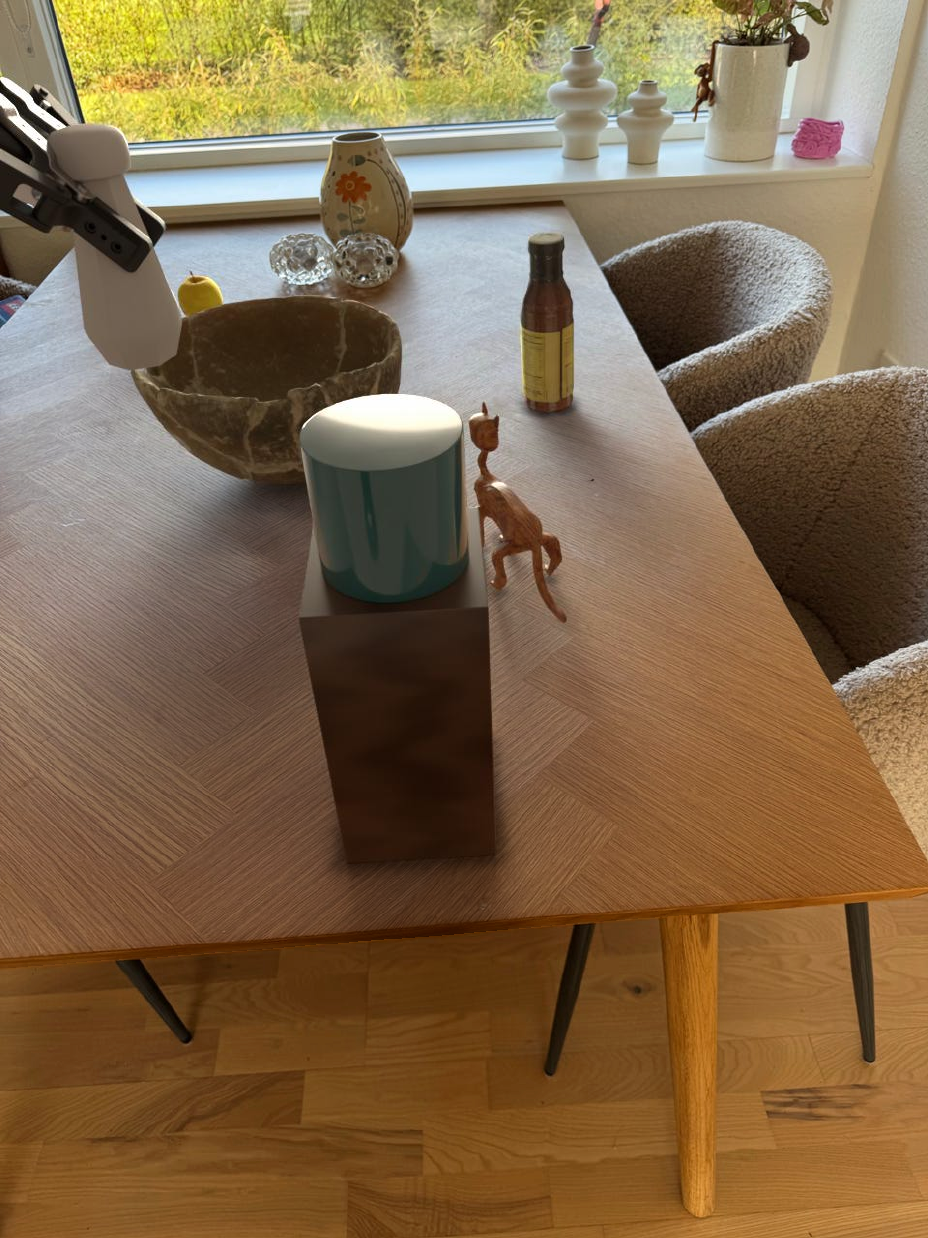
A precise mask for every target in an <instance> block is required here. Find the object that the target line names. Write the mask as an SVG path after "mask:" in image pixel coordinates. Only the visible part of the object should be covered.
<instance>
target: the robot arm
mask: <svg viewBox="0 0 928 1238" xmlns="http://www.w3.org/2000/svg"><path fill="white" fill-rule="evenodd" d="M78 124H79V122H78V121H77V120H76V119H75V118H74V117H73V116H72V115H71V114H70V113H69V112H68V111H67V109H66V108H65V107H63V105H62V104H61V103H60V102H59V101H58V100H57V99H56V98H55V97H54V96H53V95H52V94H51V93H50V91H49V90H48V89H47V88H46V87H44V86H41V85H40V84H37V83H34V84H33V85H32V87H31V89H30V90H29V92H27V91H26V90H24V89H22V87H20V86H19V85H17V84H16V83H15V82H13V81H12V80H10V79H8V78H6V77H1V76H0V211H1V212H3V213H5V214H7V215H9V216H10V217H12V218H14V219H16V220H18V221H20V222H22V223H23V224H26V225H27V226H29V227H31V228H33V229H34V230H36V231H39V232H41V233H44V234H50V232H51V231H52V230H53V228H54V227H56V228H58V229H59V230H61V231H62V232H65V233H71V231H73V230H74V232H75V233H77V234H78V235H79V236H81V237H82V238H83V239H84V240H86V241H87V242H88V243H90V244H91V245H92V246H94V247H95V248H96V249H98V250H99V251H100V252H102V253H103V254H104V255H105V256H107V257H108V258H109V259H111V260H112V261H113V262H115V263H116V264H117V265H119V266H120V267H121V268H123V269H124V270H125V271H127V272H130V273H133V272H136V271H137V270H138V268H139V267H140V265H141V264H142V263H143V261H144V260H145V258H146V257H147V255H148V254H149V253H150V251H151V250H152V246H153V248H154V249H155V246H156V245H157V244H158V242H159V241H160V239H161V238H162V237H163V235H164V234H165V232H166V231H167V225H166V222H165V221H164V220H163V219H162V218H161V217H160V216H159V215H158V214H156V213H155V212H154V211H152V210H151V209H150V208H148V207H147V206H146V205H145V204H143V202H141V201H140V200H139V199H138V198H137V197H135V196H134V195H132V197H133V200H134V202H135V204H136V207H137V209H138V212H139V214H140V216H141V219H142V221H143V224H144V226H145V228H146V231H147V233H148V236H149V237H147V236H146V235H145V234H144V233H142V232H141V231H140V230H139V229H137V228H136V227H135V226H133V225H132V224H131V223H130V222H128V221H127V220H126V219H125V218H123V217H122V216H121V215H120V214H118V213H117V212H116V211H114V210H113V209H112V208H111V207H109V206H108V205H107V204H106V203H104V202H103V201H102V200H101V199H99V198H98V197H96V198H95V199H94V200H93V201H92V203H91V202H90V200H91V198H92V197H93V196H92V193H91V192H90V191H89V190H88V189H87V188H86V187H85V186H84V185H83V184H82V183H81V182H79V181H76V180H73V179H72V178H71V177H70V176H68V175H67V174H66V173H65V172H64V171H63V170H62V169H61V168H60V167H59V166H58V163H57V156H56V154H55V152H54V150H53V148H52V147H51V145H50V143H49V142H47V140H48V138H49V136H50V134H51V133H52V132H54V131H56V130H58V129H61V128H63V127H67V126H71V125H78Z"/></svg>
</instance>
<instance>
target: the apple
mask: <svg viewBox="0 0 928 1238" xmlns="http://www.w3.org/2000/svg"><path fill="white" fill-rule="evenodd" d="M189 275H190V276H188V277H186V279H185V280H183V282H182V283H181V284H180V285H179V287H178V288H177V302H178V306H179V308H180V310H181V312H182V313H183V315H184V317H188V316H190V315H191V314H194V313H199V312H202V311H204V310H207V309H209V308H213V307H216V306H220V305H223V304H224V299H223V298H224V297H223V294H222V291H221V289H220V287H219V285H218V284H217V283H216V282H215V281H214V280H213V279H211V278H209V277H207V276H202V275H194V273H193V271H191V270H189Z"/></svg>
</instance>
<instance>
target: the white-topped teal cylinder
mask: <svg viewBox="0 0 928 1238" xmlns="http://www.w3.org/2000/svg"><path fill="white" fill-rule="evenodd" d="M463 423H464V421H463V420H462V418H461V416H460V414H458V412H457V411H456V410H454V409H453V408H452V407H450V406H449V405H447V404H445V403H443V402H441V401H439V400H435V399H432V398H429V397H425V396H419V395H413V394H402V393H401V394H400V393H398V394H382V395H372V396H365V397H359V398H354V399H351V400H347V401H343V402H340V403H338V404H335V405H332V406H330V407H328V408H326V409H324V410H322V411H320V412H319V413H317V414H316V415H314V416H313V417H312V418H310V419H309V420H308V421H307V422H306V424H305V425H304V426H303V428H302V430H301V432H300V435H299V443H300V449H301V455H302V460H303V466H304V472H305V478H306V482H305V483H306V489H307V494H308V501H309V508H310V512H311V513H310V514H311V518H312V519H311V520H312V526H313V525H314V531H315V537H316V543H317V549H318V555H319V560H320V566H321V571H322V574H323V576H324V578H325V579H326V581H327V582H328V583H329V584H330V585H331V586H332V587H333V588H334V589H336V590H337V591H339V592H340V593H342V594H344V595H346V596H349V597H352V598H354V599H358V600H362V601H368V602H375V603H397V602H406V601H411V600H416V599H420V598H424V597H426V596H429V595H432V594H434V593H437V592H439V591H441V590H443V589H444V588H446V587H448V586H449V585H450V584H452V583H453V582H454V581H456V580H457V579H458V578H459V577H460V576H461V574H462V573H463V571H464V570H465V568H466V566H467V564H468V560H469V537H468V515H467V507H468V497H467V496H468V494H467V493H468V492H467V474H466V473H467V472H466V453H465V452H466V450H465V432H464V431H465V429H464V424H463Z"/></svg>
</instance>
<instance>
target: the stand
mask: <svg viewBox="0 0 928 1238" xmlns="http://www.w3.org/2000/svg"><path fill="white" fill-rule="evenodd" d="M467 515H468V537H469V560H468V564H467V566H466V568H465V570H464V571H463V573H462V574H461V576H460V577H459V578H458V579H457V580H456V581H454V582H453V583H452V584H450V585H449V586H448V587H446V588H444V589H443V590H441V591H439V592H437V593H434V594H432V595H429V596H426V597H424V598H420V599H416V600H411V601H406V602H397V603H375V602H368V601H362V600H358V599H354V598H352V597H349V596H346V595H344V594H342V593H340V592H339V591H337V590H336V589H334V588H333V587H332V586H331V585H330V584H329V583H328V582H327V581H326V579H325V578H324V576H323V574H322V571H321V566H320V560H319V555H318V549H317V543H316V537H315V531H314V525H313V524H312V531H311V535H310V542H309V549H308V555H307V562H306V567H305V574H304V581H303V587H302V592H301V598H300V606H299V612H298V618H297V619H298V624H299V629H300V633H301V634H300V635H301V639H302V644H303V648H304V655H305V659H306V664H307V669H308V674H309V675H308V676H309V680H310V684H311V690H312V694H313V698H314V699H313V700H314V704H315V710H316V716H317V720H318V725H319V730H320V734H321V741H322V745H323V751H324V754H325V755H324V756H325V761H326V766H327V771H328V775H329V781H330V786H331V791H332V796H333V800H334V801H333V802H334V807H335V811H336V816H337V823H338V827H339V831H340V832H339V833H340V837H341V842H342V846H343V852H344V857H345V863H346V864H357V863H373V862H374V863H375V862H377V863H378V862H391V861H392V862H393V861H408V860H425V859H426V860H427V859H443V858H458V857H475V856H491V855H492V856H493V855H494V856H495V855H497V833H496V831H497V829H496V798H495V767H494V765H495V763H494V762H495V761H494V735H493V734H494V733H493V732H494V731H493V730H494V729H493V702H492V701H493V699H492V669H491V667H492V666H491V638H490V637H491V635H490V633H491V631H490V605H489V595H488V586H487V585H488V584H487V577H486V576H487V575H486V566H485V556H484V548H483V545H482V535H481V526H480V516H479V508H478V507H477V506H467Z"/></svg>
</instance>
